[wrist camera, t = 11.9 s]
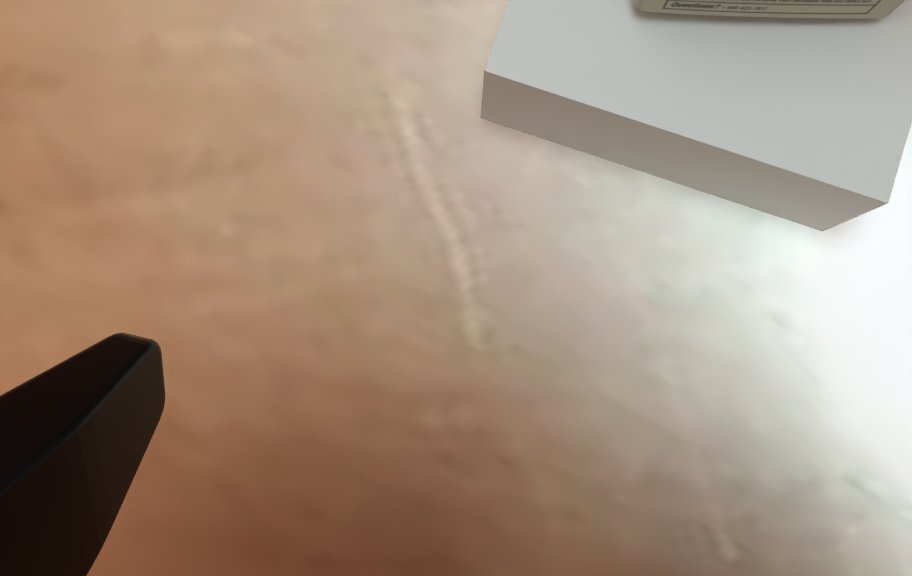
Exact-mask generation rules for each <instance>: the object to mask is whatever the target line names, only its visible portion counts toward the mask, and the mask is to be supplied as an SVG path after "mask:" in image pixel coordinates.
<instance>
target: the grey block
mask: <svg viewBox="0 0 912 576" xmlns="http://www.w3.org/2000/svg"><path fill="white" fill-rule="evenodd" d="M481 118H483V119H486V120H489V121H492V122H495V123H498V124H501V125H504V126H507V127H510V128H513V129H516V130H519V131H522V132H525V133H528V134H531V135H534V136H537V137H540V138H543V139H546V140H549V141H552V142H555V143H558V144H561V145H564V146H567V147H570V148H573V149H576V150H579V151H582V152H585V153H588V154H591V155H594V156H597V157H600V158H603V159H606V160H609V161H612V162H615V163H618V164H621V165H625V166H628V167H631V168H634V169H637V170H640V171H643V172H646V173H649V174H652V175H655V176H658V177H661V178H664V179H667V180H670V181H673V182H676V183H679V184H682V185H685V186H688V187H691V188H694V189H697V190H700V191H703V192H706V193H709V194H712V195H715V196H718V197H721V198H724V199H727V200H730V201H733V202H736V203H739V204H742V205H745V206H748V207H751V208H754V209H757V210H760V211H763V212H766V213H769V214H772V215H775V216H778V217H781V218H784V219H787V220H790V221H793V222H796V223H799V224H802V225H805V226H808V227H811V228H814V229H817V230H820V231H824V230H826V229H829V228H831V227H833V226H836V225H838V224H840V223H843V222H845V221H847V220H850V219H852V218H855V217H857V216H859V215H862V214H864V213H866V212H869V211H871V210H873V209H876V208H878V207H880V206H883V205H885V204H887V203H888V202H889V198H890V195H891V191H892V188H893V184H894V181H895V177H896V174H897V170H898V167H899V163H900V160H901V156H902V153H903V149H904V146H905V142H906V139H907V135H908V132H909V129H910V125H911V122H912V0H905V1H904V2H903V3H902V4H901V5H900V6H898V7H897V8H896V9H895V10H894V11H893V12H892V13H891V14H890V15H888V16H886V17H884V18H774V17H740V16H711V15H692V14H672V13H659V12H645V11H641V10H639V9H637V8H636V6H635V5H634V1H633V0H509V2H508V5H507V8H506V11H505V13H504V16H503V19H502V22H501V25H500V28H499V30H498V33H497V36H496V39H495V42H494V44H493V47H492V50H491V53H490V56H489V59H488V61H487V64H486V67H485V70H484V80H483V94H482V108H481Z"/></svg>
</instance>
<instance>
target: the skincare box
mask: <svg viewBox="0 0 912 576" xmlns="http://www.w3.org/2000/svg"><path fill="white" fill-rule="evenodd" d="M633 1H634V5H635V6H636V8H637V9H639V10H641V11H645V12H659V13H672V14H692V15H711V16H740V17H774V18H884V17H886V16H888V15H890V14H891V13H892V12H893V11H894V10H895V9H896V8H897V7H898V6H900V5H901V4H902V3H903V2H904V1H905V0H633Z"/></svg>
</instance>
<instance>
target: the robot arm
mask: <svg viewBox="0 0 912 576" xmlns="http://www.w3.org/2000/svg"><path fill="white" fill-rule="evenodd" d="M164 404H165V387H164V376H163V365H162V354H161V349H160V346H159V345H158V343H157V342H156V341H154V340H152V339H148V338H143V337H139V336H135V335H131V334H127V333H117V334H114V335H111V336H109V337H107V338H105V339H104V340H102V341H100V342H98V343H96V344H94V345H93V346H91V347H89V348H87V349H85V350H83V351H82V352H80V353H78V354H76V355H74V356H72V357H71V358H69V359H67V360H65V361H63V362H61V363H60V364H58V365H56V366H54V367H52V368H50V369H49V370H47V371H45V372H43V373H41V374H39V375H38V376H36V377H34V378H32V379H30V380H28V381H26V382H25V383H23V384H21V385H19V386H17V387H15V388H14V389H12V390H10V391H8V392H6V393H4V394H3V395H1V396H0V576H86V575H87V574H88V572H89V570H90V569H91V567H92V565H93V563H94V561H95V559H96V558H97V556H98V554H99V552H100V550H101V549H102V547H103V544H104V542H105V540H106V538H107V536H108V534H109V532H110V530H111V528H112V525H113V523H114V521H115V519H116V516H117V514H118V512H119V510H120V508H121V505H122V503H123V501H124V499H125V496H126V494H127V492H128V490H129V487H130V485H131V483H132V481H133V478H134V476H135V474H136V472H137V469H138V467H139V465H140V463H141V461H142V458H143V456H144V454H145V452H146V449H147V447H148V445H149V443H150V440H151V438H152V436H153V434H154V431H155V429H156V427H157V425H158V422H159V420H160V418H161V415H162V412H163V408H164Z"/></svg>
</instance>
